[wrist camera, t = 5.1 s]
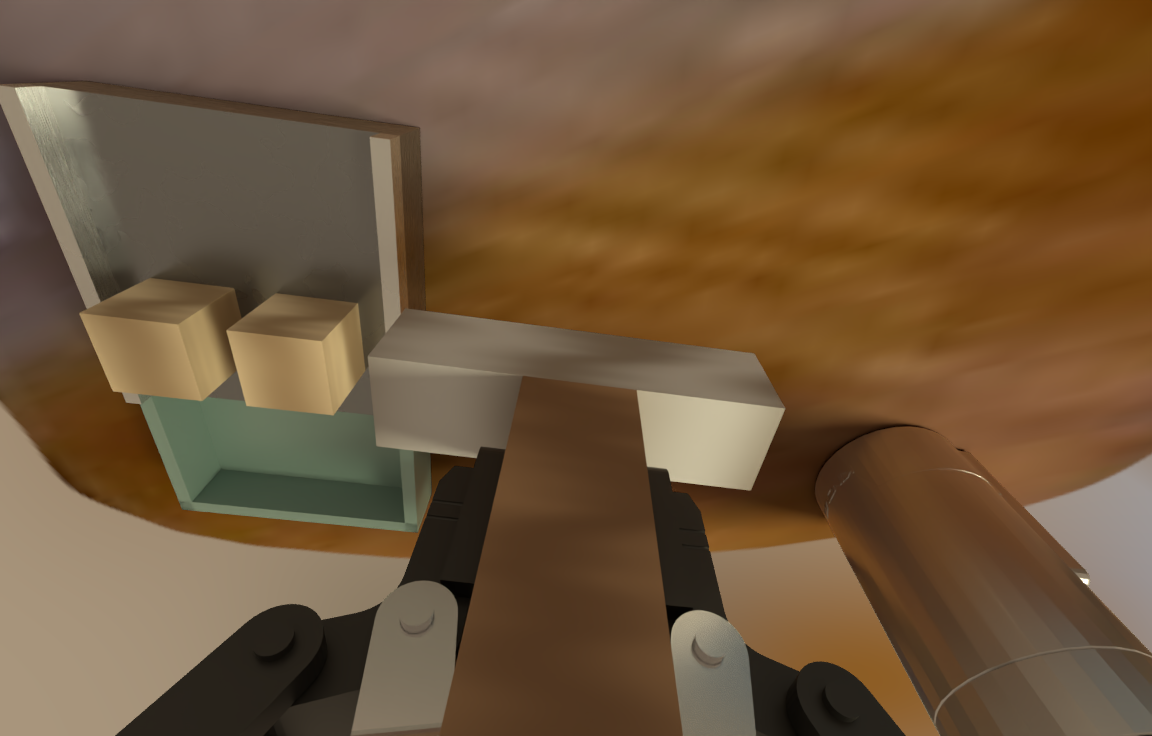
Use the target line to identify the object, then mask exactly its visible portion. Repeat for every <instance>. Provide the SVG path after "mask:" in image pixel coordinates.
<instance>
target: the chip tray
mask: <svg viewBox="0 0 1152 736" xmlns="http://www.w3.org/2000/svg"><path fill="white" fill-rule="evenodd" d="M140 406H141V408H142V411H143V413H144V416H145V418H146V421H147V423H148V426H149V428H150V431H151V433H152V435H153V438H154V440H155V443H156V445H157V448H158V450H159V453H160V455H161V458H162V460H163V463H164V465H165V468H166V470H167V473H168V475H169V478H170V480H171V483H172V485H173V487H174V490H175V492H176V495H177V497H178V500H179V502H180V505H181V507H182V510H193V511H203V512H213V513H223V514H233V515H244V516H254V517H264V518H274V519H285V520H295V521H305V522H315V523H325V524H336V525H346V526H356V527H366V528H377V529H387V530H397V531H407V532H417V533H418V530H419V528H420V525H421V522H422V519H423V516H424V514H425V511H426V508H427V505H428V502H429V500H430V497H431V494H432V488H431V458H430V453H429V452H421V451H413V450H404V449H396V448H387V447H379V446H376V436H375V425H374V415H366V414H357V413H348V412H339V411H336V413H335V414H334V415H326V414H316V413H307V412H298V411H289V410H280V409H271V408H261V407H252V406H246V402H245V401H238V400H229V399H220V398H211V397H206V398H205V399H204V400H203V401H197V400H188V399H179V398H170V397H161V396H152V397H150V398H149V399H148V400H147V401H145V402H144V403H143V404H140Z"/></svg>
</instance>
